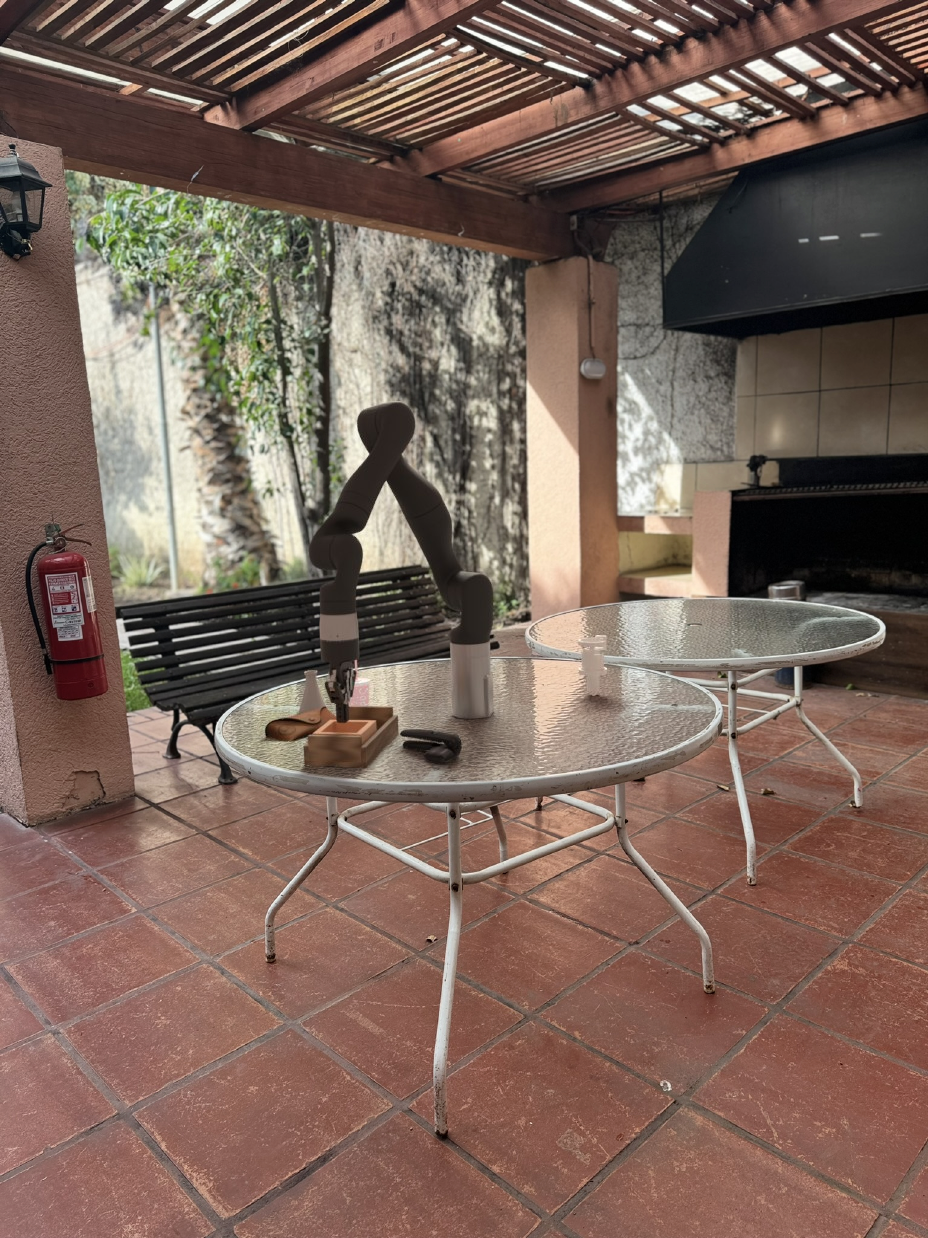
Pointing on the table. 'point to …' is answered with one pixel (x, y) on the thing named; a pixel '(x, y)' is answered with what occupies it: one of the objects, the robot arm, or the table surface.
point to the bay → (353, 740)
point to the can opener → (434, 744)
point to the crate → (349, 728)
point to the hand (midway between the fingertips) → (342, 721)
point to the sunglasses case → (298, 725)
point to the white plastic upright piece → (593, 660)
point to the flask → (311, 694)
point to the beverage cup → (360, 691)
